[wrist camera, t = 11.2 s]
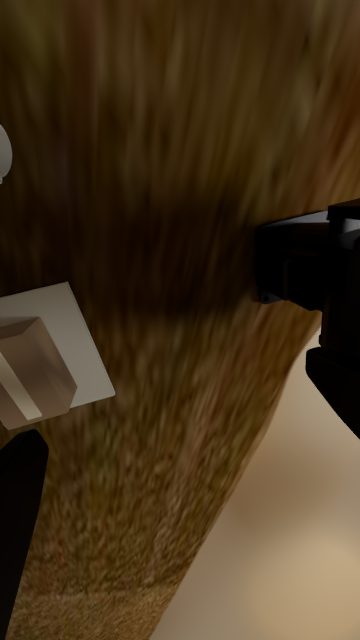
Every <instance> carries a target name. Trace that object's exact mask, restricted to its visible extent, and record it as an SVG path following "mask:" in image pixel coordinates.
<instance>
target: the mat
mask: <svg viewBox="0 0 360 640" xmlns="http://www.w3.org/2000/svg"><path fill="white" fill-rule="evenodd" d="M36 317H41V319H42V321H43V323H44V325H45V326H46V328H47V330H48V332H49V334H50V336H51V338H52V340H53V341H54V343H55V345H56V347H57V349H58V351H59V353H60V355H61V356H62V358H63V360H64V362H65V364H66V366H67V368H68V370H69V371H70V373H71V375H72V377H73V379H74V381H75V383H76V385H77V390H76V392H75V395H74V398H73V401H72V403H71V406H70V408H72V407H75V406H79V405H82V404H86V403H90V402H93V401H97V400H100V399H104V398H107V397H111V396H114V395H115V391H114V389H113V386H112V384H111V382H110V379H109V377H108V374H107V372H106V370H105V367H104V365H103V363H102V360H101V358H100V356H99V353H98V351H97V349H96V346H95V344H94V342H93V339H92V337H91V335H90V332H89V330H88V328H87V325H86V323H85V321H84V318H83V316H82V314H81V311H80V309H79V307H78V304H77V302H76V299H75V297H74V295H73V292H72V290H71V288H70V285H69V283H68V282H63V283H59V284H55V285H51V286H47V287H42V288H38V289H34V290H30V291H26V292H21V293H17V294H13V295H9V296H5V297H1V298H0V327H2V326H6V325H9V324H13V323H17V322H21V321H25V320H29V319H32V318H36ZM0 421H1V420H0ZM4 426H5V425H4Z"/></svg>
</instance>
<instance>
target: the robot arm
mask: <svg viewBox="0 0 360 640" xmlns="http://www.w3.org/2000/svg"><path fill="white" fill-rule="evenodd" d="M327 215H328V218H327V219H326V216H327ZM262 229H263V230H264V234H263V235H262V236H261V234H260V232H261V230H262ZM255 245H256V254H255V256H254V263H255V280H256V286H258V298H259V301H260V302H261V303H262V304H269V303H272V302H276V301H280V300H285V301H287V300H289V301H291V302H293V303H295V304H297V305H299V306H301V307H303V308H305V309H307V310H309V311H313V310H319V311H321V312H322V324H321V334H320V335H319V344H320V346H321V347H316V348H312V349H309V350H308V351H307V352H306V367H305V368H306V373H307V375H308V377H309V378H310V379H311V381H312V382H313V383H314V385H315V386H316V387H317V389H318V390H319V391H320V393H321V394H322V395H323V397H324V398H325V399H326V401H327V402H328V403H329V405H330V406H331V407H332V409H333V410H334V411H335V412H336V413H337V415H338V416H339V417H340V418H341V419H342V421H343V422H344V423H345V424H346V425H347V426H348V427H349V428H350V429H351V431H353V433H354V434H355V435H356V436H357V437H358V438H359V439H360V198H359V199H355V200H350V201H346V202H342V203H338V204H333V205H329V206H328V210H325V211H321V212H316V213H312V214H308V215H304V216H299V217H295V218H291V219H287V220H282V221H278V222H274V223H270V224H265V225H261V226H259V227H257V229H256V231H255ZM265 296H266V299H265V300H263V299H264V297H265ZM48 454H49V449H48V445H47V443H46V442H45V441H44V439H43V438H42V436H41V435H40V433H39V432H38V430H36V429H29V430H26V431H22V432H20V433H18V434H17V435H16V436H15V437H14V438H13V439H12V440H11V441H10V442H8V443H7V444H6V445H5V446H4V447H3V448H2V449H1V450H0V640H5V637H6V633H7V630H8V626H9V622H10V618H11V614H12V611H13V607H14V603H15V599H16V595H17V592H18V588H19V584H20V580H21V576H22V573H23V569H24V565H25V561H26V557H27V554H28V550H29V546H30V542H31V538H32V535H33V531H34V527H35V523H36V519H37V515H38V511H39V506H40V501H41V496H42V490H43V484H44V478H45V472H46V466H47V460H48Z"/></svg>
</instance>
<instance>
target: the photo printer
mask: <svg viewBox="0 0 360 640" xmlns="http://www.w3.org/2000/svg"><path fill="white" fill-rule="evenodd" d="M11 164H12V149H11V144H10V141H9V138H8V136H7V134H6V132H5V130H4V128H3V127H2V126H1V124H0V184H2V177H5V176H6V175H7V173H8V172H9V170H10V167H11Z"/></svg>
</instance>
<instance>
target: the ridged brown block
mask: <svg viewBox="0 0 360 640" xmlns="http://www.w3.org/2000/svg"><path fill="white" fill-rule="evenodd" d="M76 390H77V385H76V383H75V381H74V379H73V377H72V375H71V373H70V371H69V370H68V368H67V366H66V364H65V362H64V360H63V358H62V356H61V355H60V353H59V351H58V349H57V347H56V345H55V343H54V341H53V340H52V338H51V336H50V334H49V332H48V330H47V328H46V326H45V325H44V323H43V321H42V319H41V317H36V318H32V319H29V320H25V321H21V322H17V323H13V324H9V325H6V326H2V327H0V420H1V422H2V423H3V424H4V425H5V427H6V428H7V429H8V430H11V429H14V428H17V427H21V426H24V425H28V424H31V423H34V422H38V421H41V420H45V419H48V418H51V417H55V416H58V415H62V414H65V413H68V412H69V409H70V406H71V403H72V401H73V398H74V395H75V392H76Z"/></svg>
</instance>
